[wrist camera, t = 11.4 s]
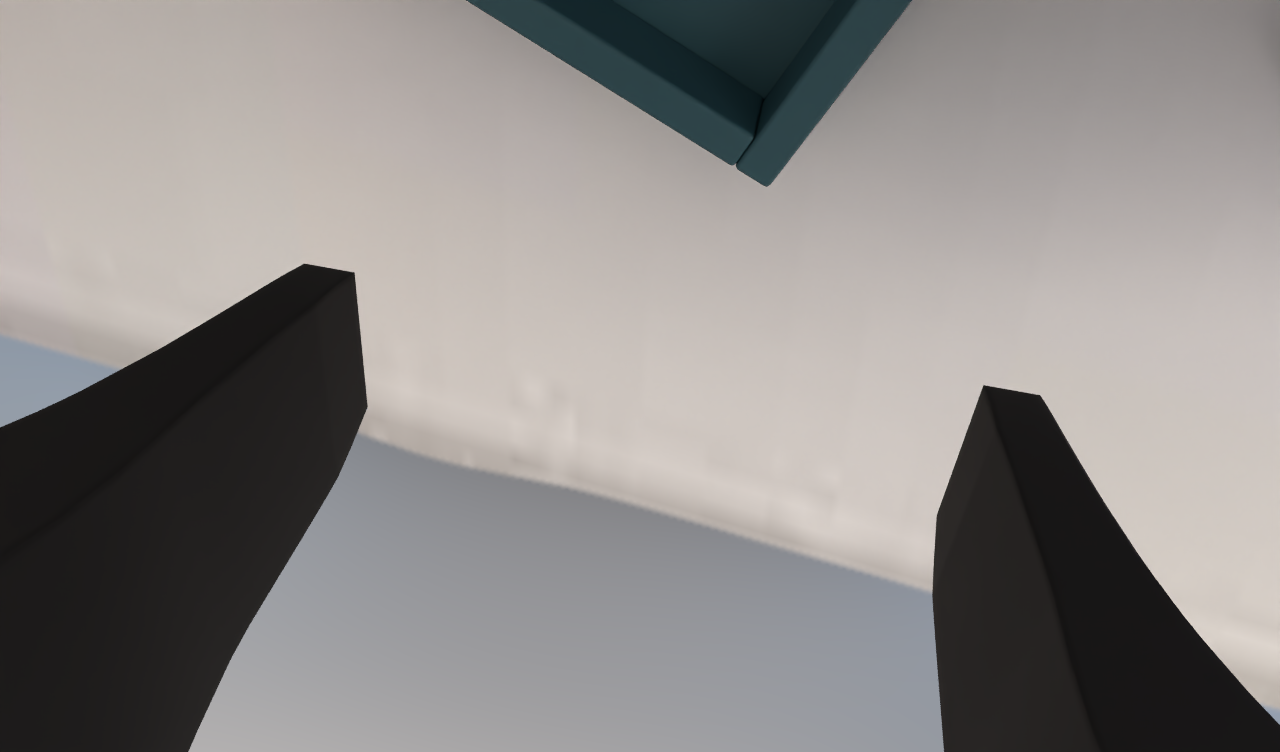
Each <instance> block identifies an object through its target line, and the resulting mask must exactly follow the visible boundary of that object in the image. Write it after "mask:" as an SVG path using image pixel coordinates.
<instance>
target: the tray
mask: <svg viewBox="0 0 1280 752" xmlns="http://www.w3.org/2000/svg"><path fill="white" fill-rule="evenodd" d="M466 1H468V2H470V3H471V4H473V5H474V6H476V7H478V8H479V9H481V10H482V11H484V12H486V13H487V14H489V15H491V16H492V17H494V18H495V19H497V20H499V21H500V22H502V23H503V24H505V25H507V26H508V27H510V28H511V29H513V30H515V31H516V32H518V33H519V34H521V35H523V36H524V37H526V38H527V39H529V40H531V41H532V42H534V43H535V44H537V45H539V46H540V47H542V48H543V49H545V50H547V51H548V52H550V53H551V54H553V55H555V56H556V57H558V58H560V59H561V60H563V61H564V62H566V63H568V64H569V65H571V66H572V67H574V68H576V69H577V70H579V71H580V72H582V73H584V74H585V75H587V76H588V77H590V78H592V79H593V80H595V81H596V82H598V83H600V84H601V85H603V86H604V87H606V88H608V89H609V90H611V91H612V92H614V93H616V94H617V95H619V96H620V97H622V98H624V99H625V100H627V101H629V102H630V103H632V104H633V105H635V106H637V107H638V108H640V109H641V110H643V111H645V112H646V113H648V114H649V115H651V116H653V117H654V118H656V119H657V120H659V121H661V122H662V123H664V124H665V125H667V126H669V127H670V128H672V129H673V130H675V131H677V132H678V133H680V134H681V135H683V136H685V137H686V138H688V139H689V140H691V141H693V142H694V143H696V144H698V145H699V146H701V147H702V148H704V149H706V150H707V151H709V152H710V153H712V154H714V155H715V156H717V157H718V158H720V159H722V160H723V161H725V162H726V163H728V164H730V165H734V164H735V163H736V168H737V169H738V170H739V171H741V172H743V173H744V174H746V175H747V176H749V177H751V178H752V179H754V180H755V181H757V182H759V183H760V184H762V185H763V186H766V187H767V186H769V185H770V184H771V183H772V182H773V181H774V179H775V178H776V177H777V176H778V174H779V173H780V172H781V170H782V169H783V168H784V166H785V165H786V164H787V163H788V161H789V160H790V159H791V157H792V156H793V155H794V153H795V152H796V151H797V150H798V148H799V147H800V146H801V144H802V143H803V142H804V140H805V139H806V138H807V136H808V135H809V134H810V133H811V131H812V130H813V129H814V127H815V126H816V125H817V123H818V122H819V121H820V120H821V118H822V117H823V116H824V114H825V113H826V112H827V110H828V109H829V108H830V107H831V105H832V104H833V103H834V101H835V100H836V99H837V97H838V96H839V95H840V94H841V92H842V91H843V90H844V88H845V87H846V86H847V84H848V83H849V82H850V81H851V79H852V78H853V77H854V75H855V74H856V73H857V71H858V70H859V69H860V68H861V66H862V65H863V64H864V62H865V61H866V60H867V58H868V57H869V56H870V55H871V53H872V52H873V51H874V49H875V48H876V47H877V45H878V44H879V43H880V42H881V40H882V39H883V38H884V36H885V35H886V34H887V32H888V31H889V30H890V29H891V27H892V26H893V25H894V23H895V22H896V21H897V19H898V18H899V17H900V16H901V14H902V13H903V12H904V10H905V9H906V8H907V6H908V5H909V4H910V2H911V1H912V0H466Z"/></svg>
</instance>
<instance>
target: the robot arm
mask: <svg viewBox="0 0 1280 752" xmlns="http://www.w3.org/2000/svg"><path fill="white" fill-rule="evenodd" d="M366 409H367V397H366V386H365V376H364V366H363V356H362V345H361V335H360V325H359V314H358V304H357V294H356V284H355V273H354V272H348V271H342V270H337V269H331V268H326V267H320V266H315V265H309V264H303V265H301V266H299V267H297V268H296V269H294V270H292V271H290V272H288V273H286V274H285V275H283V276H281V277H279V278H278V279H276V280H274V281H273V282H271V283H269V284H268V285H266V286H264V287H263V288H261V289H259V290H258V291H256V292H254V293H253V294H251V295H249V296H248V297H246V298H245V299H243V300H241V301H240V302H238V303H236V304H235V305H233V306H231V307H230V308H228V309H226V310H225V311H223V312H221V313H220V314H218V315H216V316H215V317H213V318H211V319H210V320H208V321H206V322H205V323H203V324H201V325H200V326H198V327H196V328H194V329H193V330H191V331H189V332H188V333H186V334H184V335H183V336H181V337H179V338H178V339H176V340H174V341H172V342H171V343H169V344H167V345H166V346H164V347H162V348H160V349H159V350H157V351H155V352H153V353H151V354H149V355H147V356H146V357H144V358H142V359H140V360H138V361H136V362H134V363H132V364H131V365H129V366H127V367H125V368H123V369H121V370H119V371H117V372H116V373H114V374H112V375H110V376H108V377H106V378H104V379H103V380H101V381H99V382H97V383H95V384H93V385H91V386H89V387H88V388H86V389H84V390H82V391H80V392H78V393H76V394H74V395H72V396H69V397H67V398H66V399H63V400H61V401H59V402H57V403H55V404H53V405H51V406H48V407H46V408H45V409H42V410H40V411H38V412H35V413H33V414H31V415H29V416H26V417H24V418H22V419H19V420H17V421H15V422H12V423H10V424H8V425H5V426H3V427H0V752H188V751H189V749H190V746H191V744H192V742H193V740H194V737H195V735H196V733H197V730H198V728H199V726H200V724H201V722H202V720H203V718H204V715H205V713H206V711H207V709H208V707H209V705H210V702H211V700H212V698H213V696H214V694H215V692H216V689H217V687H218V685H219V683H220V681H221V679H222V677H223V674H224V672H225V670H226V668H227V666H228V664H229V661H230V660H231V658H232V656H233V654H234V652H235V650H236V648H237V646H238V645H239V643H240V641H241V639H242V637H243V635H244V634H245V632H246V630H247V628H248V627H249V625H250V623H251V622H252V620H253V618H254V617H255V615H256V613H257V612H258V610H259V608H260V607H261V605H262V603H263V601H264V600H265V598H266V597H267V595H268V593H269V592H270V590H271V588H272V587H273V585H274V584H275V582H276V580H277V578H278V577H279V575H280V573H281V572H282V570H283V569H284V567H285V565H286V564H287V562H288V560H289V558H290V557H291V555H292V554H293V552H294V550H295V549H296V547H297V546H298V544H299V542H300V541H301V539H302V537H303V536H304V534H305V532H306V531H307V529H308V527H309V526H310V524H311V522H312V521H313V519H314V517H315V515H316V514H317V512H318V510H319V509H320V507H321V505H322V504H323V502H324V500H325V499H326V497H327V495H328V494H329V492H330V490H331V488H332V487H333V485H334V483H335V481H336V480H337V478H338V476H339V473H340V471H341V469H342V467H343V464H344V462H345V460H346V457H347V455H348V453H349V451H350V449H351V446H352V444H353V441H354V439H355V436H356V434H357V431H358V429H359V427H360V424H361V422H362V419H363V417H364V414H365V412H366ZM932 596H933V612H934V626H935V640H936V653H937V665H938V666H937V667H938V679H939V692H940V703H941V704H940V705H941V716H942V730H943V743H944V752H1280V725H1279V724H1278V723H1277V722H1276V721H1275V720H1274V719H1273V718H1272V716H1271V715H1270V714H1269V713H1268V712H1267V711H1266V710H1265V709H1264V708H1263V707H1262V706H1261V705H1260V704H1259V703H1258V702H1257V701H1256V700H1255V698H1254V697H1253V696H1252V695H1251V694H1250V693H1249V692H1248V691H1247V690H1246V689H1245V688H1244V686H1243V685H1242V684H1241V683H1240V682H1239V681H1238V680H1237V678H1236V677H1235V676H1234V675H1233V674H1232V673H1231V672H1230V670H1229V669H1228V668H1227V667H1226V666H1225V665H1224V664H1223V662H1222V661H1221V660H1220V659H1219V658H1218V657H1217V656H1216V654H1215V653H1214V652H1213V651H1212V650H1211V649H1210V647H1209V646H1208V645H1207V644H1206V643H1205V642H1204V641H1203V639H1202V638H1201V637H1200V636H1199V634H1198V633H1197V632H1196V631H1195V630H1194V628H1193V627H1192V626H1191V625H1190V623H1189V622H1188V621H1187V620H1186V618H1185V617H1184V616H1183V615H1182V613H1181V612H1180V611H1179V609H1178V608H1177V607H1176V605H1175V604H1174V603H1173V601H1172V600H1171V599H1170V597H1169V596H1168V595H1167V593H1166V592H1165V591H1164V589H1163V588H1162V587H1161V585H1160V584H1159V583H1158V581H1157V580H1156V579H1155V577H1154V576H1153V575H1152V573H1151V572H1150V570H1149V569H1148V567H1147V566H1146V565H1145V563H1144V562H1143V560H1142V559H1141V557H1140V556H1139V554H1138V553H1137V552H1136V550H1135V549H1134V547H1133V546H1132V544H1131V542H1130V541H1129V539H1128V538H1127V536H1126V535H1125V533H1124V532H1123V530H1122V529H1121V527H1120V526H1119V524H1118V523H1117V521H1116V520H1115V518H1114V517H1113V515H1112V514H1111V512H1110V510H1109V509H1108V507H1107V506H1106V504H1105V503H1104V501H1103V499H1102V498H1101V496H1100V495H1099V493H1098V491H1097V490H1096V488H1095V487H1094V485H1093V483H1092V482H1091V480H1090V478H1089V477H1088V475H1087V473H1086V472H1085V470H1084V468H1083V467H1082V465H1081V463H1080V462H1079V460H1078V458H1077V456H1076V455H1075V453H1074V451H1073V450H1072V448H1071V446H1070V444H1069V443H1068V441H1067V439H1066V438H1065V436H1064V434H1063V432H1062V431H1061V429H1060V427H1059V425H1058V424H1057V422H1056V420H1055V419H1054V417H1053V415H1052V413H1051V412H1050V410H1049V408H1048V407H1047V405H1046V404H1045V402H1044V400H1043V399H1042V397H1041V396H1040V395H1035V394H1029V393H1024V392H1018V391H1013V390H1007V389H1002V388H996V387H990V386H985V385H984V386H983V388H982V391H981V394H980V397H979V400H978V402H977V405H976V408H975V411H974V413H973V416H972V419H971V422H970V425H969V427H968V430H967V433H966V436H965V439H964V441H963V444H962V447H961V450H960V452H959V455H958V458H957V461H956V464H955V466H954V469H953V472H952V475H951V477H950V480H949V483H948V486H947V489H946V491H945V494H944V497H943V500H942V502H941V505H940V508H939V511H938V514H937V521H936V537H935V553H934V572H933V594H932Z"/></svg>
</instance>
